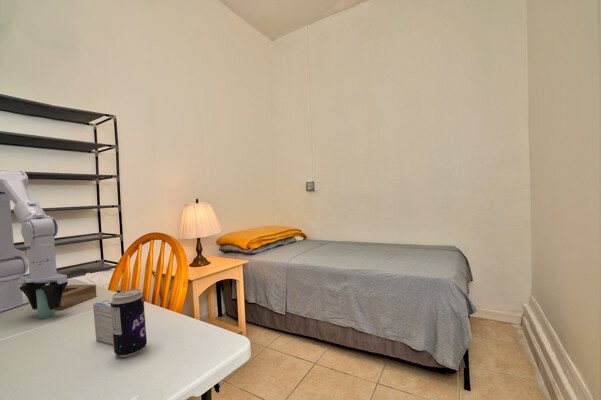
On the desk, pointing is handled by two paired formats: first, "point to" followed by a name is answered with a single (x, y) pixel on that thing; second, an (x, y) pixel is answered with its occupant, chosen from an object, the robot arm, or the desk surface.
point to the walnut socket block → (76, 295)
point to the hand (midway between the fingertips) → (45, 308)
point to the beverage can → (128, 322)
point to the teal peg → (43, 305)
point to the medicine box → (103, 321)
